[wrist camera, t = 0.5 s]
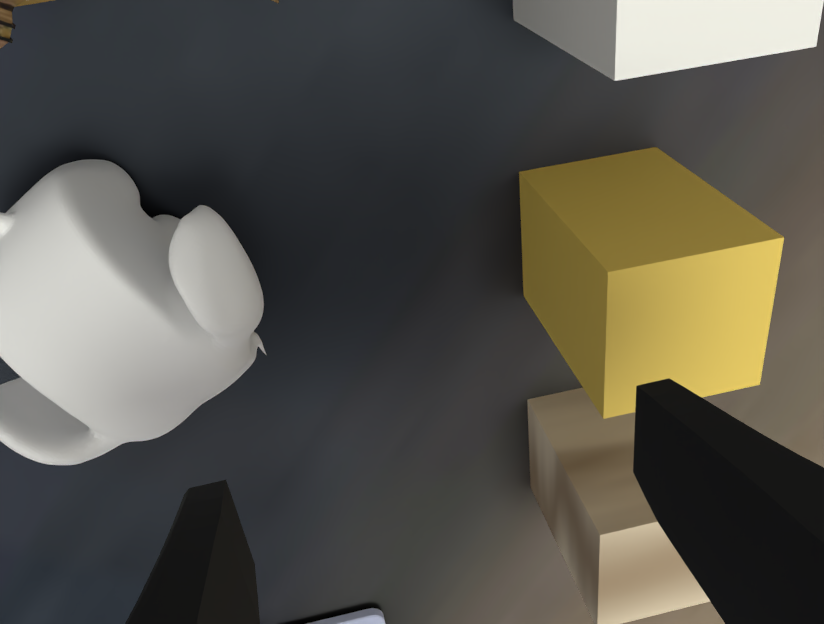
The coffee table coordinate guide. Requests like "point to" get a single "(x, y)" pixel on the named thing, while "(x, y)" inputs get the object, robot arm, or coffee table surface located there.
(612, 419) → the birch bar
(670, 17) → the off-white bar
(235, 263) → the elephant figurine
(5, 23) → the game die
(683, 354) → the mustard bar
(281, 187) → the coffee table surface
